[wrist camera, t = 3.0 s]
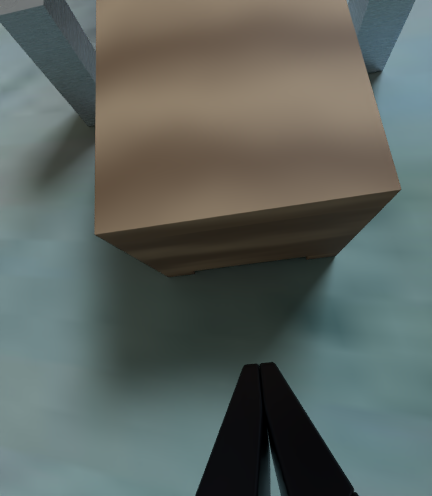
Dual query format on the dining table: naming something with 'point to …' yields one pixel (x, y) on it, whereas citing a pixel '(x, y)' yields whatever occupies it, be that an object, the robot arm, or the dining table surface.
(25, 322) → the dining table surface
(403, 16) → the post
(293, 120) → the wood grain box
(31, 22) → the post
